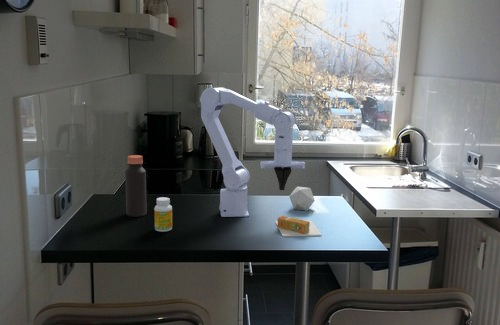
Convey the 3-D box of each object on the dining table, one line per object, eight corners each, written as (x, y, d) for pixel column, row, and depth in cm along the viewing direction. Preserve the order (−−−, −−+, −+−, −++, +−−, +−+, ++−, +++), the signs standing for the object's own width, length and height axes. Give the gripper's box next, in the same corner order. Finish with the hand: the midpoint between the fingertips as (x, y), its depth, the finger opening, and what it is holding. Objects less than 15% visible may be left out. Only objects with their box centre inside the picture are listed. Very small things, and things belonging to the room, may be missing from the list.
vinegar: (132, 218, 164) (130, 159, 160) (122, 213, 169) (120, 156, 165) (150, 214, 168) (149, 156, 164) (140, 210, 173) (139, 153, 169)
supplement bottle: (157, 232, 151) (157, 202, 149) (152, 227, 155) (152, 197, 153) (174, 230, 153) (174, 200, 151) (169, 225, 158) (168, 195, 156)
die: (317, 209, 181) (307, 185, 184) (318, 203, 173) (307, 179, 176) (296, 217, 181) (286, 193, 184) (296, 212, 172) (286, 187, 176)
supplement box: (276, 217, 155) (305, 223, 150) (282, 215, 158) (310, 221, 153) (276, 228, 156) (304, 234, 151) (282, 225, 159) (310, 231, 153)
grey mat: (282, 236, 149) (282, 235, 149) (275, 222, 163) (275, 220, 163) (321, 235, 151) (321, 234, 151) (311, 221, 164) (311, 220, 164)
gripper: (262, 150, 157) (261, 192, 160) (307, 151, 158) (305, 192, 161) (260, 147, 164) (258, 187, 166) (303, 147, 165) (301, 187, 168)
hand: (281, 189), depth 164 cm, fingers closed
